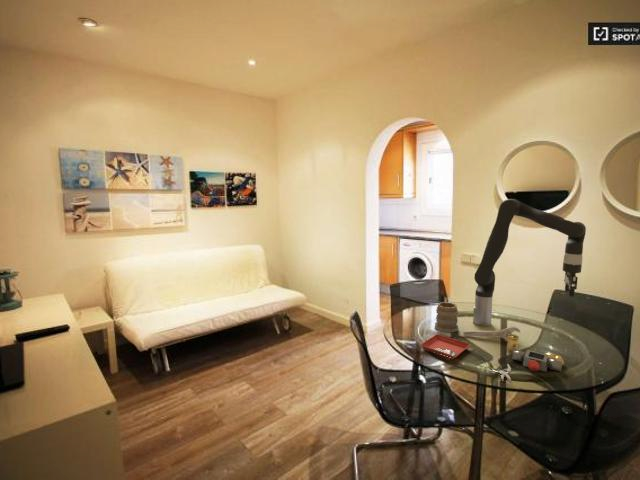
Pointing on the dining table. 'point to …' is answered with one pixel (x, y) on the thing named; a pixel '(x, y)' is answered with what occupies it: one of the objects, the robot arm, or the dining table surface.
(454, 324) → the tankard
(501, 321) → the dining table surface
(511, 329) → the wrench
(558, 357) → the brass elbow
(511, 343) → the brass knob
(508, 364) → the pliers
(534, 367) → the valve body
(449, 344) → the plant saucer
